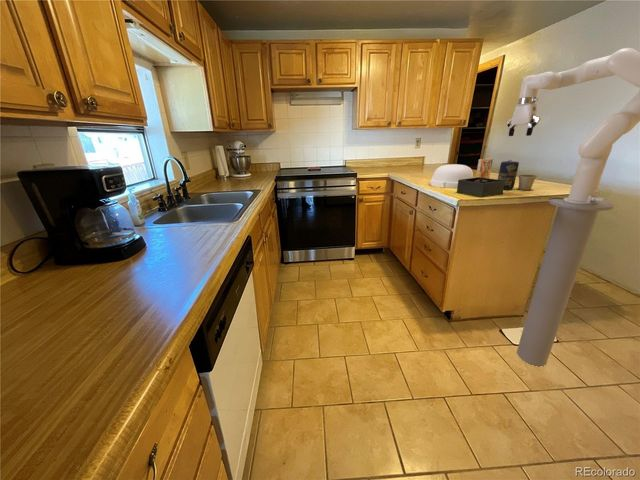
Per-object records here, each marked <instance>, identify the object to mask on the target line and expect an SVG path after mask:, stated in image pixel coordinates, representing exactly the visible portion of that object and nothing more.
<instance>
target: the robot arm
mask: <svg viewBox="0 0 640 480" xmlns="http://www.w3.org/2000/svg"><path fill="white" fill-rule="evenodd" d="M614 76H617V77H619V78H620V79H622V80H624V81H626V82H627V83H629V84H630V85H632V86H634V87H637V88H639V89H638V92H637V93H636V94H635V95H634V96H633V97H632V98H631V99H630V100H629V101H628V102H627V103H626V104H625V105H624V106H623V107H621V109H619V111H618V112H616V113H614V114H611V115H609V116H608V117H606V118H605V119H604V120H603V121H601V122H600V123H599V124H598V125H597V126H596V127H595V128H594V130H592V131H591V132H590V133H589V134H588V135H587V137H585V138H584V139H583V140H582V141H581V142H580V144H579V145H578V148H577V153H578V155H579V156H580V159H579V161H578V164H577V167H576V170H575V173H574V177H573V180H572V184H571V187H570V190H569V194H568V196H567V197H568V198H565V197H564V198H563V199H564V201H565V202H568V203H573V204H582V205H594V204H597V202H604V201H606V198H605V197H601V196H600V197H599V194H597V191H598V188H599V185H600V182H601V179H602V176H603V174H604V170H605V168H606V165H607V162H608V160H609V157H610V155H611V153H612V149H613V145H614V144H615V143H616V142H617V141H618V140H619V139H620V138H621V137H623V136H624V135H626V134H628V133H630V132H631V131H632V130H633V129H634V128H635V127H636V126H637V125H638V123H640V51H638V50H636V49H635V48H632V47H623V48H620V49H618V50H616V51H615V52H614V53H612V54H609V55H606V56H602V57H598V58H597V57H596V58H594V59H590V60H587V61H585V62H584V63H582V64H580V65H578V66H577V67H574V68H570V69H567V70H563V71H560V72H555V71H545V72H541V73H538V74H530V75H527V76H524V77H523V79H522V81H521V87H520V91H519V96H518V101H517V105H516V106H515V109H514V111H513V114H512V117H511V118H509V119H508V120H506V127H508V129H509V130H508V137H513V136H514V134H515V127H517V126H519V125H521V126H522V125H527V126H528V127H527V129H526V133H525V136H526V137H529V136H532V134H533V130H534V128H535V127H536V126H537V125H538V123H539V122H540V121H541V117H538V116H537V103H536V102H538V101H539V98H538V97H537V95H538V91H539V90H548V91H550V90H556V89H561V88H566V87H571V86H574V85H578V84H583V83H587V82H590V81H595V80H599V79H605V78H608V77H614Z"/></svg>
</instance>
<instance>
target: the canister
mask: <svg viewBox="0 0 640 480" xmlns="http://www.w3.org/2000/svg"><path fill="white" fill-rule="evenodd" d="M499 165H500V166H499V171H498V175H497V179H498V180H505V185H504V190H513V189H514V188H515V183H516V179H517V175H518V171H519V165H520V162H519V161H515V160H514V161H513V160H512V159H508V160H507V161H501V162H500V164H499Z"/></svg>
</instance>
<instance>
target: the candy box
mask: <svg viewBox="0 0 640 480" xmlns="http://www.w3.org/2000/svg"><path fill="white" fill-rule="evenodd" d="M493 161H494V159H493V158H480V159H479V158H478V163H477V167H476V175H475V178H477V177H481V178H489V179H490V176H491V173H492V167H493Z"/></svg>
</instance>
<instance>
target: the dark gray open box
mask: <svg viewBox="0 0 640 480" xmlns="http://www.w3.org/2000/svg"><path fill="white" fill-rule="evenodd" d="M480 179H483V180H486V181H488V182H487V183H479V182H475V180H480ZM504 185H505V180H498V178H490V177H489V178H481V177H477V178H476V177H473V178H469V179H461V180H458V186H457V188H456V193H458V194H462V195H468V196H473V197H476V198H477V197H478V198H486V197H487V198H488V197H492V196H493V197H494V196H498V195H503V194H504V190H505V189H504Z"/></svg>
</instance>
